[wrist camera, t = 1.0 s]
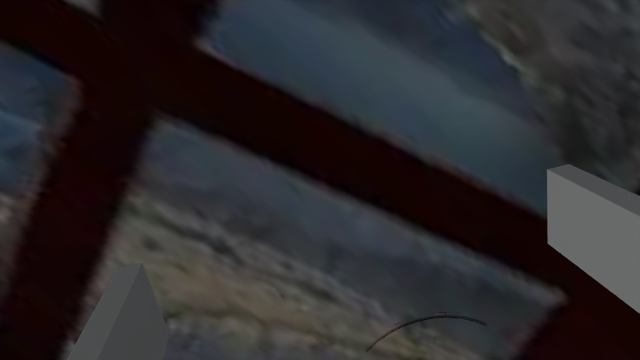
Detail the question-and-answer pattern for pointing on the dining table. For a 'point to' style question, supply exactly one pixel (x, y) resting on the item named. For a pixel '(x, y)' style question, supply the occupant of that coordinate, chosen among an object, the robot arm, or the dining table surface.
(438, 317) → the figurine
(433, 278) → the dining table surface
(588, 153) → the dining table surface
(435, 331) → the dining table surface
